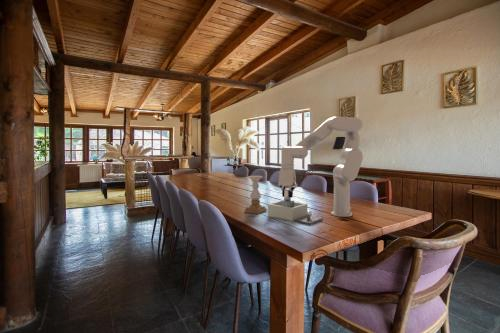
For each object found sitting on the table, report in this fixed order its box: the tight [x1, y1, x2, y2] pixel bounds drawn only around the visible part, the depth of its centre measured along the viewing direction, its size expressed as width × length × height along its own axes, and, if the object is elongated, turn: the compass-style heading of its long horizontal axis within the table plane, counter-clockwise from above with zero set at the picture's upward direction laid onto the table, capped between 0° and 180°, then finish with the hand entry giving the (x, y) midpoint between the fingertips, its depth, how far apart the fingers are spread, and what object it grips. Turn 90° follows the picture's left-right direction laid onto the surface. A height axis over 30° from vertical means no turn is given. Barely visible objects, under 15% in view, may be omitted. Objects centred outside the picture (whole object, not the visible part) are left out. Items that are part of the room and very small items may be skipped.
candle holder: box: [244, 175, 268, 215], centre depth 182 cm, size 11×11×24 cm
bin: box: [267, 200, 308, 223], centre depth 169 cm, size 16×18×8 cm
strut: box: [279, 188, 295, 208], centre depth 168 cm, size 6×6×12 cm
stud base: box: [294, 209, 324, 226], centre depth 158 cm, size 14×10×6 cm
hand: (287, 196), depth 168 cm, fingers closed on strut, 4 cm apart
